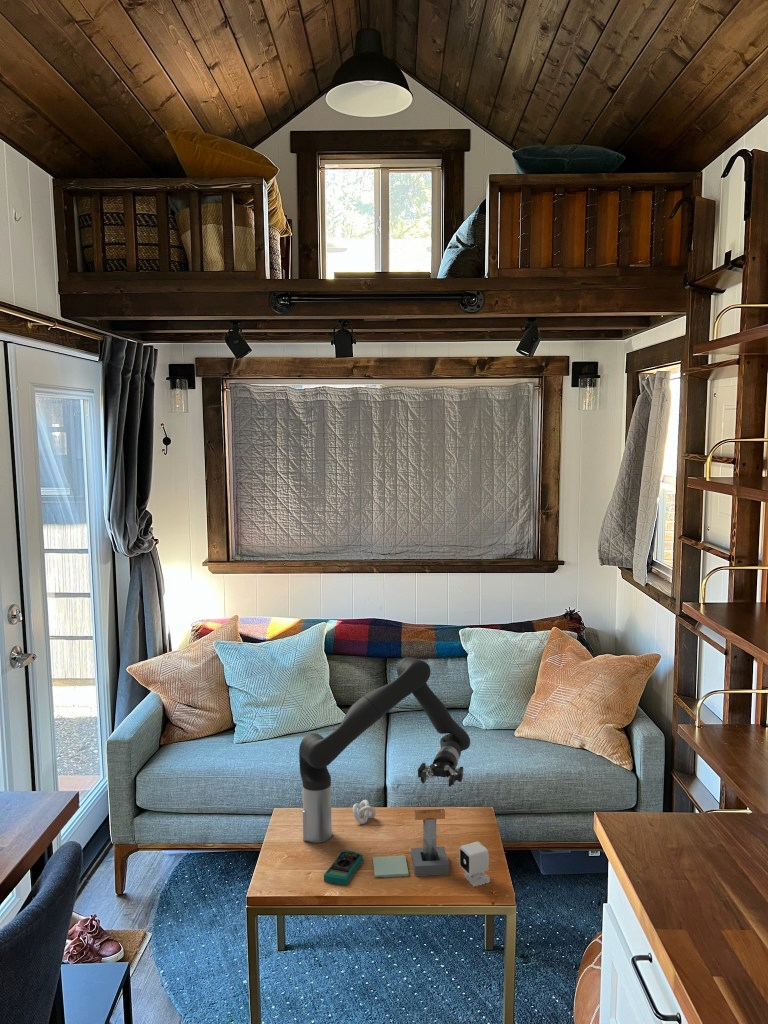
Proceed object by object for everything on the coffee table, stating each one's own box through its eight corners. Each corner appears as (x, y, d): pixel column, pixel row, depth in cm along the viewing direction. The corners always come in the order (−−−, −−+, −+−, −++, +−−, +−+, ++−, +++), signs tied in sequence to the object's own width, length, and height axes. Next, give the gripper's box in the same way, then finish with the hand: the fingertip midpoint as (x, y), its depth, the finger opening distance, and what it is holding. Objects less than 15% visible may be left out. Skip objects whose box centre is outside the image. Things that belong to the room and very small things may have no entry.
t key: (415, 870, 224) (415, 815, 222) (414, 862, 228) (413, 808, 226) (445, 868, 224) (445, 813, 223) (443, 861, 228) (443, 807, 227)
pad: (374, 877, 220) (374, 875, 220) (372, 859, 230) (372, 857, 230) (408, 876, 221) (408, 873, 220) (405, 857, 230) (405, 855, 230)
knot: (363, 828, 249) (363, 811, 249) (346, 821, 254) (345, 804, 254) (378, 820, 255) (378, 803, 254) (360, 812, 260) (360, 796, 259)
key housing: (415, 876, 221) (415, 866, 220) (411, 857, 231) (411, 848, 230) (449, 874, 221) (449, 864, 221) (443, 855, 231) (443, 846, 231)
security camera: (459, 878, 219) (458, 845, 219) (479, 872, 222) (479, 839, 222) (470, 889, 214) (470, 855, 213) (491, 883, 217) (491, 849, 216)
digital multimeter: (364, 860, 230) (364, 851, 230) (346, 887, 216) (346, 877, 216) (341, 857, 232) (341, 847, 232) (323, 883, 218) (322, 873, 218)
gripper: (425, 748, 251) (414, 768, 236) (467, 752, 247) (458, 772, 232) (425, 769, 252) (414, 791, 236) (467, 774, 248) (459, 796, 232)
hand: (436, 782), depth 234 cm, fingers open, 8 cm apart
